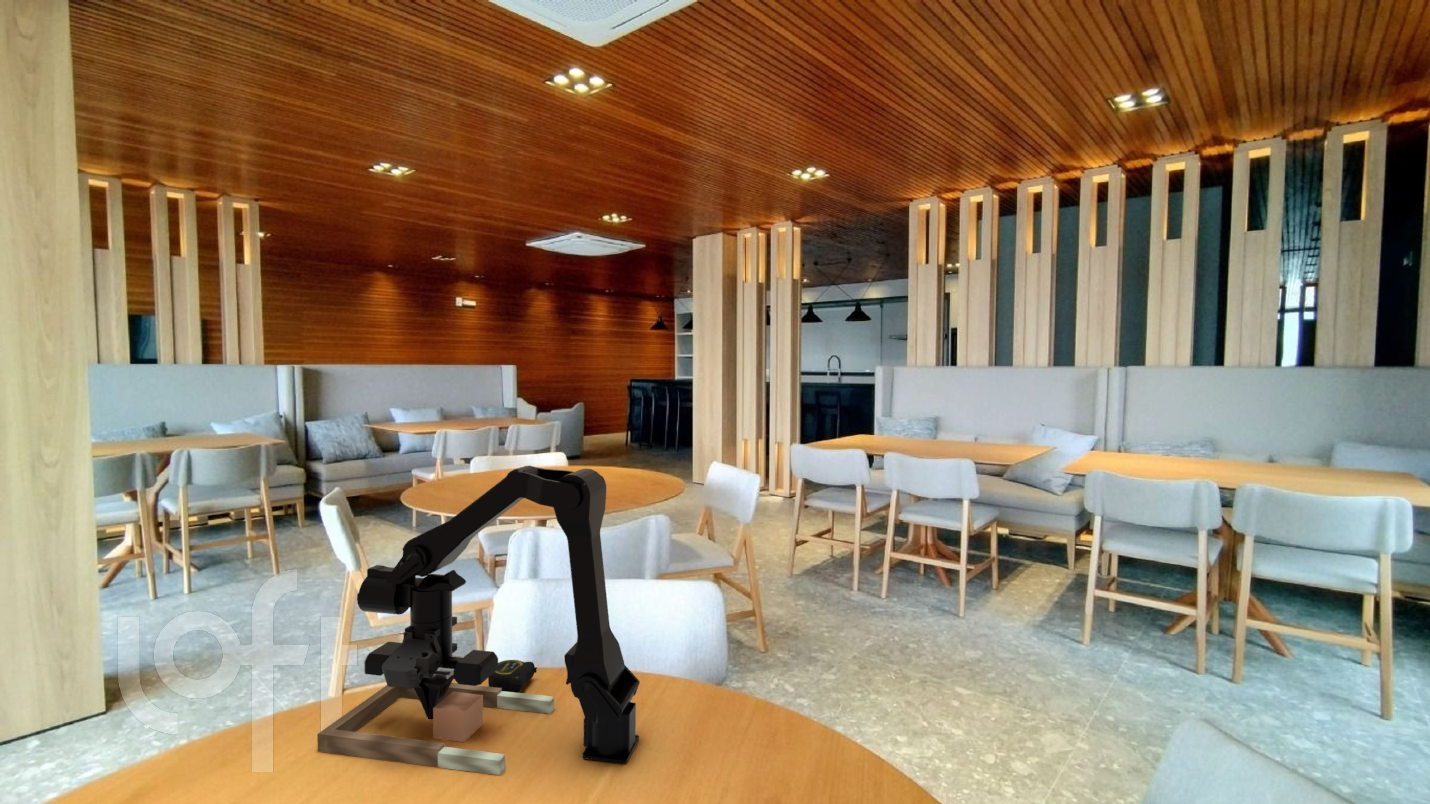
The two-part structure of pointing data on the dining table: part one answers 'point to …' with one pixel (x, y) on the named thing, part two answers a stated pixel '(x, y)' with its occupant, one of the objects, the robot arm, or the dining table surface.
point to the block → (457, 716)
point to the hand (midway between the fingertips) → (432, 718)
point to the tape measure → (512, 675)
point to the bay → (421, 752)
